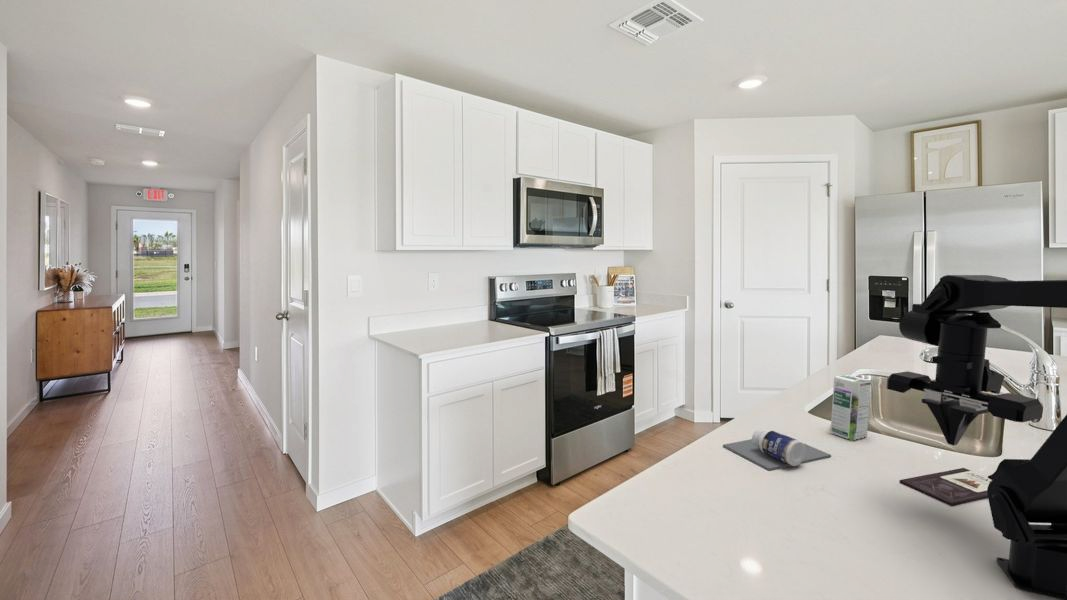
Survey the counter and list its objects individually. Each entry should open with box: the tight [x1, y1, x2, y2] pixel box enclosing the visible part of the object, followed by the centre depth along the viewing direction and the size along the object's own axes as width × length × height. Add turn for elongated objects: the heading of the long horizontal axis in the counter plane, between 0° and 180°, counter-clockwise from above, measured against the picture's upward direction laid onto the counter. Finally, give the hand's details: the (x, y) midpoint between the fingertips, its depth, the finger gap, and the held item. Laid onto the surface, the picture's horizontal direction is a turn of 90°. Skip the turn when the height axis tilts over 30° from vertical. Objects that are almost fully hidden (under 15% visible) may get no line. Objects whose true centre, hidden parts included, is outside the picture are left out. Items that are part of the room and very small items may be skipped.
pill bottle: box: [751, 428, 806, 467], centre depth 102 cm, size 5×5×10 cm
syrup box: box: [829, 374, 872, 442], centre depth 115 cm, size 6×6×14 cm
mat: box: [722, 438, 832, 472], centre depth 107 cm, size 13×18×1 cm
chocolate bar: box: [899, 467, 992, 507], centre depth 91 cm, size 9×1×18 cm
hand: (952, 444), depth 79 cm, fingers closed
